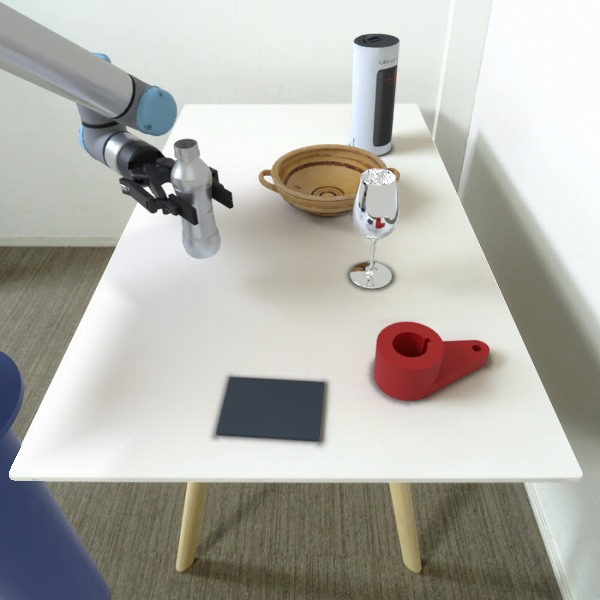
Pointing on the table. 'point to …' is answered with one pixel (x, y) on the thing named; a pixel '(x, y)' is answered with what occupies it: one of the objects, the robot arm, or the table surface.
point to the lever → (422, 360)
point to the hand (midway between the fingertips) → (213, 208)
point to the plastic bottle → (195, 199)
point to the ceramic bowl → (322, 177)
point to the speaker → (374, 91)
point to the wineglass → (374, 222)
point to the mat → (272, 409)
